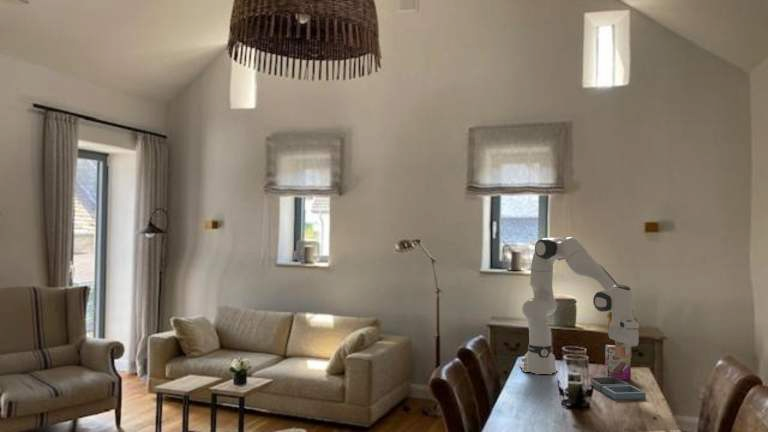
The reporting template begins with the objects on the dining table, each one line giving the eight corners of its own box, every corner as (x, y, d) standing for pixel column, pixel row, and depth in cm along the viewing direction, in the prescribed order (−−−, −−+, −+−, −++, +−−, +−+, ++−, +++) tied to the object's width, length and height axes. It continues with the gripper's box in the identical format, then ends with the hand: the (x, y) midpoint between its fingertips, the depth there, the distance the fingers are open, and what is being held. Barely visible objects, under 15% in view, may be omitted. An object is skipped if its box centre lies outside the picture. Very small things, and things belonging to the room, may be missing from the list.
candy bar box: (607, 380, 285) (607, 346, 286) (605, 377, 290) (604, 344, 291) (631, 380, 284) (631, 347, 285) (628, 378, 289) (627, 345, 290)
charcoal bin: (587, 383, 279) (586, 377, 279) (614, 382, 280) (614, 376, 280) (600, 391, 265) (600, 385, 265) (629, 390, 266) (629, 384, 266)
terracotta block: (615, 355, 261) (614, 344, 261) (625, 355, 261) (625, 344, 261) (620, 358, 256) (620, 346, 256) (631, 358, 256) (631, 346, 256)
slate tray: (602, 392, 264) (601, 386, 264) (631, 391, 265) (631, 385, 265) (614, 400, 252) (614, 393, 252) (645, 399, 253) (645, 392, 253)
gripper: (604, 318, 269) (605, 348, 269) (627, 325, 249) (627, 357, 248) (617, 317, 270) (618, 347, 269) (641, 325, 249) (641, 357, 249)
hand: (623, 352), depth 259 cm, fingers closed on terracotta block, 5 cm apart
